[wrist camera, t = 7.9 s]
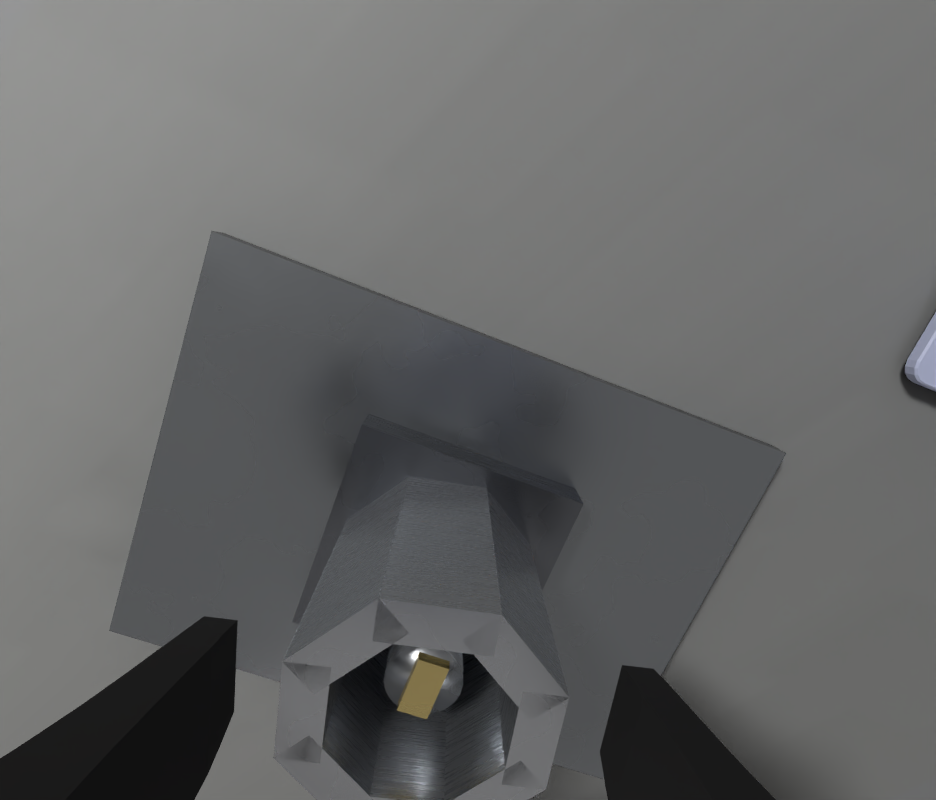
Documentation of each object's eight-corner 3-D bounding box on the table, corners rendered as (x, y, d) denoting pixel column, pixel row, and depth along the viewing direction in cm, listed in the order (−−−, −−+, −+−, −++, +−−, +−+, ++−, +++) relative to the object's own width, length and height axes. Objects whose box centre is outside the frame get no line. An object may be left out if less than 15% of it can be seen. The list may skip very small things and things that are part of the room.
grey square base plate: (773, 445, 15) (968, 555, 9) (597, 761, 17) (664, 998, 12) (222, 232, 13) (41, 203, 7) (122, 617, 16) (-68, 810, 10)
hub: (540, 495, 13) (587, 626, 8) (507, 652, 14) (531, 849, 9) (353, 468, 13) (289, 586, 8) (334, 630, 14) (268, 820, 9)
